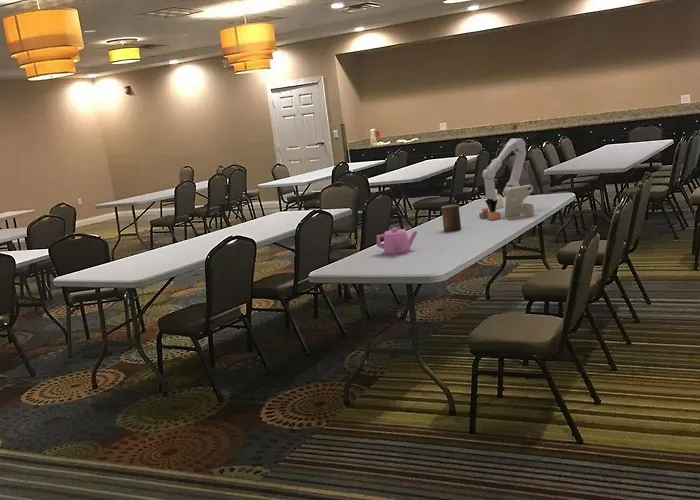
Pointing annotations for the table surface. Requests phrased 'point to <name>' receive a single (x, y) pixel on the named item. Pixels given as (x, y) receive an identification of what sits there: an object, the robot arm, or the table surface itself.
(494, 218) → the pen cup
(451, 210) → the pillar candle
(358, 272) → the table surface
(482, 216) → the button base
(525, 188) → the phone holder
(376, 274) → the table surface
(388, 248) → the teakettle
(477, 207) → the table surface
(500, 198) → the medicine bottle
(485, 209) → the button
